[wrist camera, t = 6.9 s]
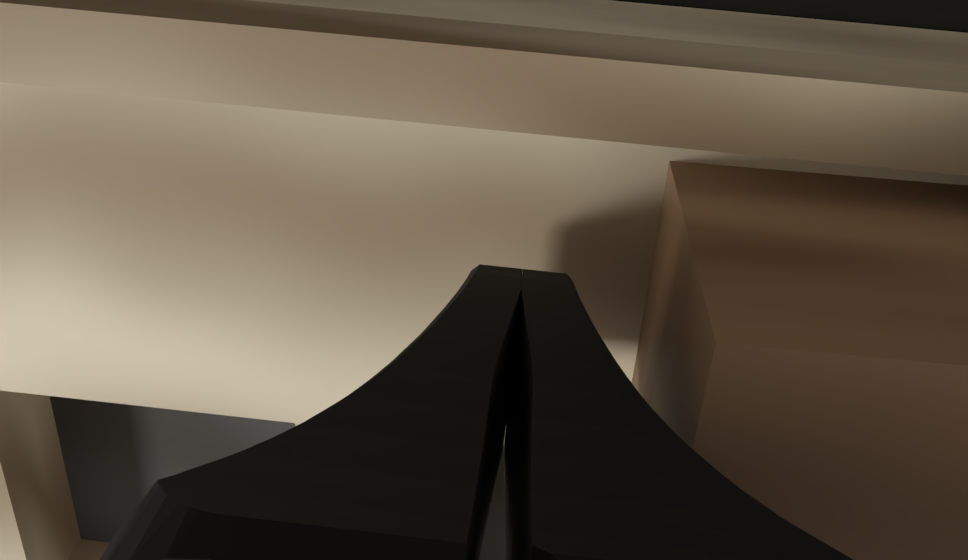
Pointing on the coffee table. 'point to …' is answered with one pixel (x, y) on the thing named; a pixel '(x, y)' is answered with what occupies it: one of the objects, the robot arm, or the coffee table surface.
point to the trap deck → (365, 199)
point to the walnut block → (818, 349)
